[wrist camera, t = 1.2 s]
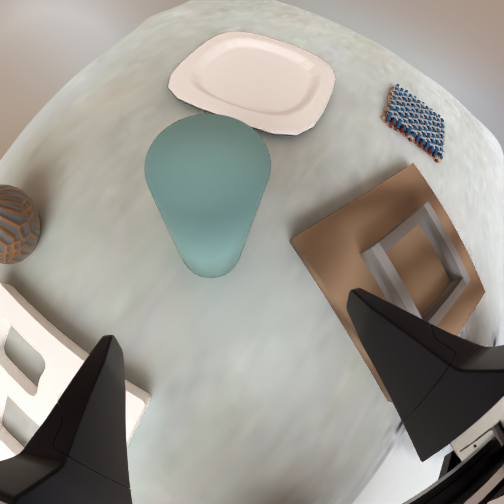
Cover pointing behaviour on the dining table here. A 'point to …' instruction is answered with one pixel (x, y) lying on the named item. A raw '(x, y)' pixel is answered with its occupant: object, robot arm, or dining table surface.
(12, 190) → the vase
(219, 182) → the pin
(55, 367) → the holder
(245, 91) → the plate
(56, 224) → the dining table surface
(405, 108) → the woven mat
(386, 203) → the board
